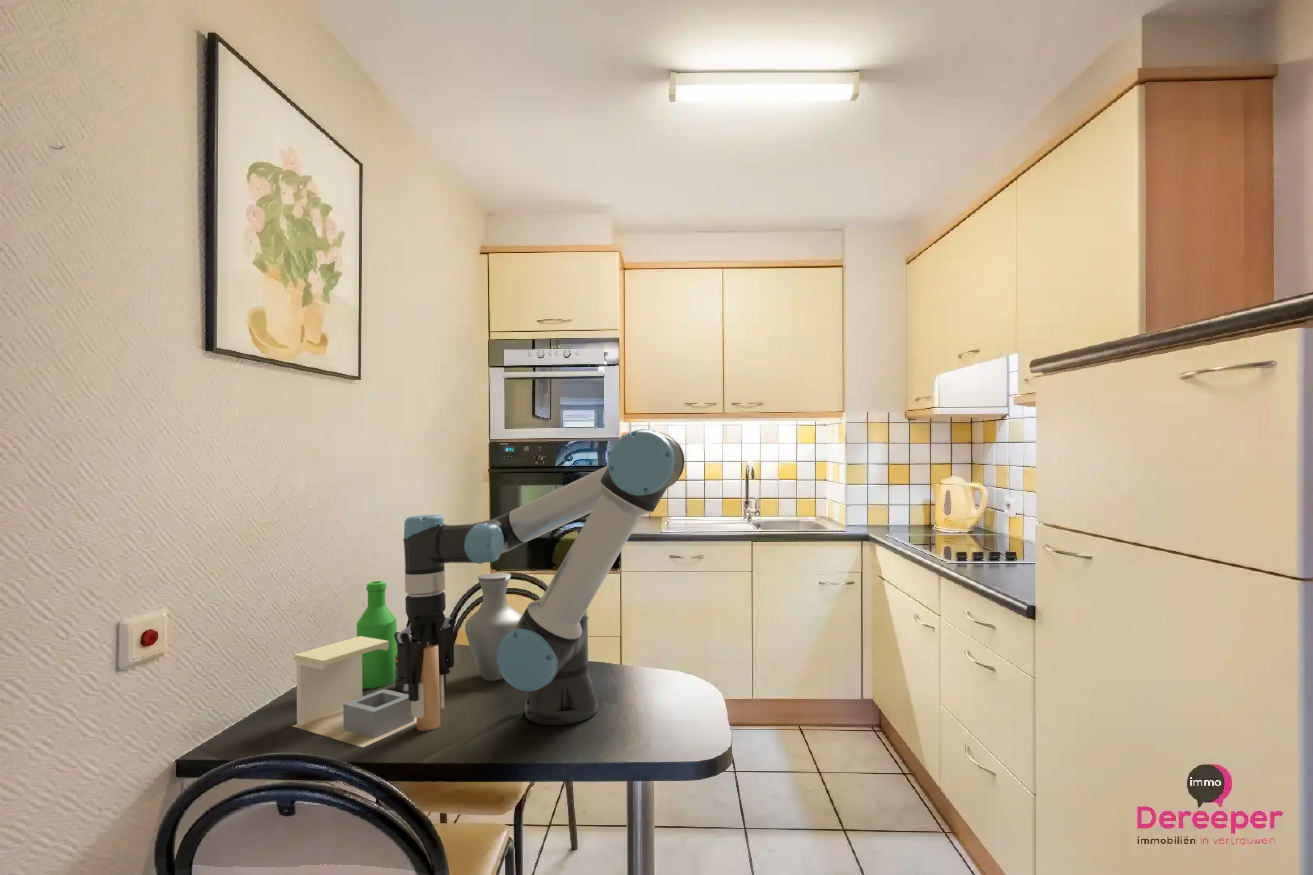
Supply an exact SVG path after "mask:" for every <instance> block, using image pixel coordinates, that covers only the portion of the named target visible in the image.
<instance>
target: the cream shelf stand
mask: <svg viewBox="0 0 1313 875" xmlns="http://www.w3.org/2000/svg"><path fill="white" fill-rule="evenodd" d="M388 646H389V641H386V640H380V639H374V638H368V637H363V636H359V637H357V636H355V637H351V638H348V639H345V640H342V641H338V642H335V643H334V642H333V643H330V644H327V645H324V646H320V647H316V648H313V649H310V650H306V651H302V652H299V653H296V654H293V661H294V660H295V661H296V724H298V725H302V724H305V723H307V722H310V721H313V720H315V719H318V718H320V717H323V716H326V715H328V714H331V713H334V712H336V711H339V710H341V709H343V704H345V703H347V702H350V701H353V700H355V699H358V698H361V697H363V688H362V654H364V653H367V652H370V651H373V650H377V649H380V650H388Z"/></svg>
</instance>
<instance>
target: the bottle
mask: <svg viewBox="0 0 1313 875" xmlns="http://www.w3.org/2000/svg"><path fill="white" fill-rule="evenodd" d="M387 588H388V586H387V583H386V581H384V580H377V581H370V582H368V583H367V584H366V589H365V590H366V591H367V607H366V609H365V610H364V612H363V613H362V614H361V616H360V618H359V619H358V621H357V623H356V637H359V636H363V637H368V638H374V639H380V640H386V641H389V646H388V650H380V649H377V650H373V651H370V652H367V653H364V654H362V689H377V688H382V687H387V686H390V685H392V684H395V683H396V681H395V680H396V673H395V672H396V667H395V666H396V665H395V663H396V655H397V654H398V652H397V643H396V640H395V637H394V634H395V633H396V632H398V631H397V630H398V628H397V618H396V616H395V615H394V613H392V611H391V610H390V609H389V607H388V606H387V604H386V589H387Z"/></svg>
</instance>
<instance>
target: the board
mask: <svg viewBox="0 0 1313 875" xmlns="http://www.w3.org/2000/svg"><path fill="white" fill-rule="evenodd" d="M413 725H417V717H414V721H412V722H410V723H408V724H406V725H404V726H401V727H399V728H397V729H395V730H392V731H390V732H388V733H386V734H383V735H381V736H379V737H377V738H375V739H374V738H370V737H367V736H363V735H360V734H356V733H353V732H349V731H346V730H344V723H343V709H341V710H339V711H336V712H334V713H331V714H328V715H326V716H323V717H320V718H318V719H315V720H313V721H310V722H307V723H305V724H302V725H298V724H297V723H296V724H294V725H292V727H293V728H296V729H300V730H303V731H307V732H310V733H313V734H317V735H320V736H324V737H327V738H330V739H334V740H337V741H339V742H340V741H341V742H344V743H346V744H350V745H353V746H357V747H359V748H360V747H361V748H365V747H367V746H369V745H372V744H373V743H374V744H375V743H377V742H378V741H380V740H383V739H384V738H385V739H386V738H387V737H390V736H391V735H392V736H393V735H394V734H396V733H399V732H401V731H403V730H405V729H407V728H409V727H411V726H413Z"/></svg>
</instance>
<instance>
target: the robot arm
mask: <svg viewBox="0 0 1313 875" xmlns="http://www.w3.org/2000/svg"><path fill="white" fill-rule="evenodd" d="M607 464H608V465H605V466H604V467H602V468H600V469H598V470H595V471H593V472H591V473H588V474H587V475H584V476H583V477H580V478H579V479H576V480H574V481H572V482H570V483H568V484H565V485H563V486H560V487H558V488H557V489H555V490H552V491H550V492H549V493H545V494H544V495H542V496H540V497H538V498H536V499H534V500H531V501H529V502H527V503H525V504H523V505H520V506H519V507H516V508H513V510H511V511H508V512H506V513H503V514H501V515H499V516H497V517H495V518H492V519H489V520H484V521H479V522H474V523H469V524H445V521H444V520H445V519H444V517H443V516H442V515H441V514H422V515H414V516H413V515H412V516H409V517H407V518H406V519H405V520H404V526H403V527H404V530H403V539H402V540H403V547H404V548H403V549H404V583H405V584H404V590H405V591H404V592H405V593H406V597H405V599H404V600H405V602H404V603H405V615H406V616H407V623H406V625H405V628H404V629H403V630H401V631H397V632H396V633H395V634H394V637H395V640H396V643H397V654H398V678H399V682H400V683H405V684H408V691H407V692H408V695H409V701H411V712H412V716H414V717H418V718H423V717H424V683H421V682H420V677H421V670H422V663H423V657H424V649H425V647H426V646H427V643H429V644H435V645H438V652H439V691H440V710H443V709H445V689H446V687H447V675H449V674H450V673H451V668H453V667H455V634H454V633H455V632H454V630H455V627H456V623H457V620H456V618H452V617H446V615H445V614H444V611H446V593H445V592H444V590H445V589H446V575H445V574H446V572H445V568H446V567H445V565H446V564H449V563H450V564H452V563H453V564H455V563H456V564H457V563H459V564H465V563H466V564H479V565H481V564H484V563H494V562H496V561H498V560H499V559H500V556H501V555H502V554H503V553H504V554H505V553H507V552H510V551H512V550H514V549H516V548H517V547H518V546H521V545H523V544H525V543H527V542H529V541H532V540H533V539H536V538H538V537H541V536H543V535H545V534H546V533H549V532H551V531H553V530H556V529H558V528H561V527H562V526H564V525H567V524H569V523H571V522H573V521H575V520H578V519H580V518H582V517H585V516H587V515H588V514H589V516H588V517H587V519H586V520H585V522H584V523H583V526H582V527H581V529H580V531H579V533H578V534H577V536H576V538H575V540H574V541H573V543H572V545H571V546H570V548H569V550H568V551H567V553H566V555H565V557H564V559H563V560H562V562H561V564H560V566H559V567H558V569H557V570H556V572H555V574H554V576H553V578H552V579H551V581H550V583H549V584H548V586H547V588H546V590H545V592H543V595H542V597H541V598H540V599H538V600H533V601H530V603H528V605H527V607H526V608H525V610H524V612H523V613H522V614H521V615H522V617H521V619H520V620H519V622H518V624H517V625H516V627H515V628H514V630H512V631H510V632H509V633H507V635H506V636H505V637H504V638H503V640H502V641H501V642H500V644H499V647H498V650H497V663H498V666H499V670H500V672H501V674H502V676H503V677H504V679H503V680H505V682H506V683H508V684H509V685H510V686H512V687H513V688H515V689H517V690H520V691H524V692H528V694H527V698H526V700H525V705H524V707H525V709H524V710H525V717H526V718H527V719H528V721H530V722H533V723H535V724H539V725H544V726H563V725H564V726H566V725H571V724H575V723H579V722H582V721H585V720H588V719H589V718H591V717H593V716H594V715H595V714H596V713H597V711H598V696H597V694H596V692H595V688H594V686H593V682H592V679H591V676H590V673H589V639H588V638H589V636H588V635H589V634H588V632H589V630H588V629H589V628H588V624H589V623H588V620H589V615H588V608H589V607H590V605H591V604H592V601H594V598H595V597H596V594H597V593H598V591H599V590H600V588H601V586H602V584H603V583H604V581H605V579H606V578H607V576H608V574H609V573H610V571H611V568H613V565H614V564H615V562H616V561H617V558H618V557H619V555H620V554H621V551H622V550H623V548H624V547H625V545H626V543H627V542H628V540H629V538H630V537H631V535H632V533H633V531H634V529H635V527H636V526H637V525H638V522H639V521H640V519H641V517H643V516H645V515H649V514H653V513H654V512H655V509H656V508H657V506H658V505H659V503H660V501H661V499H662V498H663V497H664V495H665V493H666V491H667V489H668V488H670V487H671V486H673V485H674V484H676V482H677V481H678V480H679V479H680V477H681V476H682V474H683V472H684V469H685V454H684V451H683V448H682V447H681V445H680V443H678V441H677V440H676V439H675V438H674V437H672V436H670V435H669V434H667V433H664V432H660V431H659V432H658V431H656V430H654V429H645V428H642V429H637V430H636V429H635V430H633V431H630V432H627V433H626V434H624V435H622V437H620V438H619V439H618V440H617V441H616V442H615V443H614V445H613V446H612V448H611V450H610V452H609V456H608V462H607Z"/></svg>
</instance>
